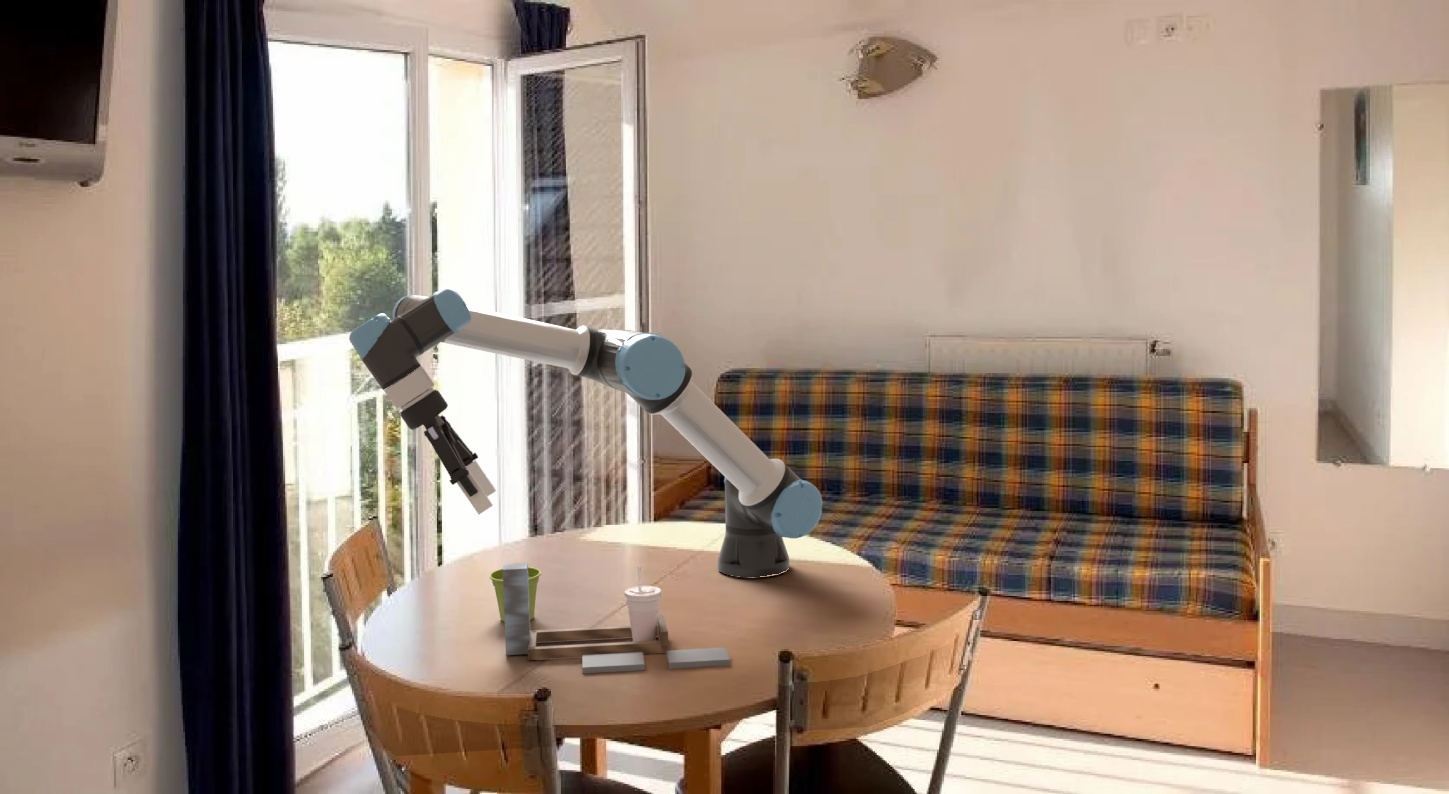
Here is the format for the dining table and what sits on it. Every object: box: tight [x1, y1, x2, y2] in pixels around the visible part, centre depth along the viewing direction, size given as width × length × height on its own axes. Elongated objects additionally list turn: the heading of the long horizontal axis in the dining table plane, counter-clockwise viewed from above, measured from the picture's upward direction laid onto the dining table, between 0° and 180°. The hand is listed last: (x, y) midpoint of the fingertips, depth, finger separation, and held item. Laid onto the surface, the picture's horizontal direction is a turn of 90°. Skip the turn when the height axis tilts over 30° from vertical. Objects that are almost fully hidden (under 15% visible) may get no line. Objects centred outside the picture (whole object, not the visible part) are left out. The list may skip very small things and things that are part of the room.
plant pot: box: [488, 566, 542, 623], centre depth 226 cm, size 9×9×9 cm
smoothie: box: [624, 565, 663, 642], centre depth 210 cm, size 6×6×14 cm
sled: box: [502, 561, 669, 661], centre depth 209 cm, size 27×10×15 cm, turn 97°
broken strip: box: [581, 647, 731, 674], centre depth 202 cm, size 24×6×1 cm, turn 97°
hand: (487, 502), depth 211 cm, fingers open, 13 cm apart
